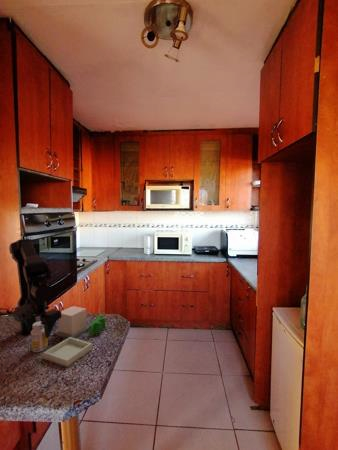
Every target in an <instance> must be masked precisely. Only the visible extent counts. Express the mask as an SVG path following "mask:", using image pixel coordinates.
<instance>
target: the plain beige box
mask: <svg viewBox="0 0 338 450" xmlns="http://www.w3.org/2000/svg"><path fill="white" fill-rule="evenodd" d="M87 319H88V318H87V308H84V307H81V306H80V307H79V306H75V305H73V306H70V307H68V308H65V309H63V310H61V318H59V320H57V321H58V323H57V324H58V329H57V330H54V331H53V332H52V333H53V335H54V336H58V337H60V338H64V339H67V338H69V337H72V338H75V339H77V338H78V337H80V336H81V335H83V334H85V333H86V332H89V326H90V325H91V324H88V323H87Z"/></svg>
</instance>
